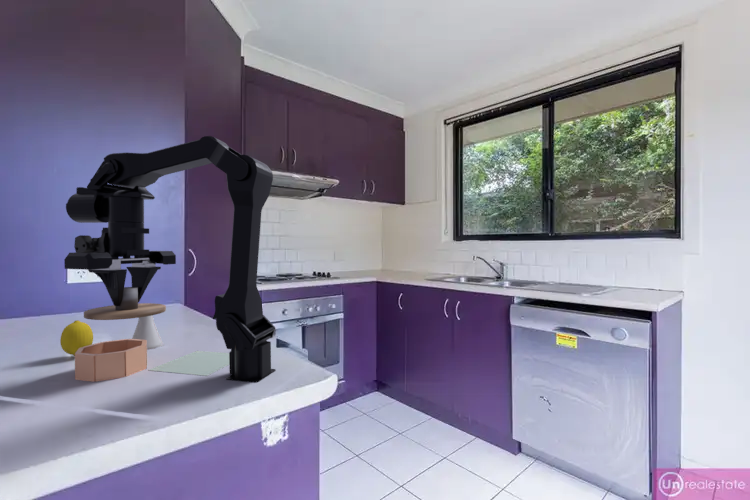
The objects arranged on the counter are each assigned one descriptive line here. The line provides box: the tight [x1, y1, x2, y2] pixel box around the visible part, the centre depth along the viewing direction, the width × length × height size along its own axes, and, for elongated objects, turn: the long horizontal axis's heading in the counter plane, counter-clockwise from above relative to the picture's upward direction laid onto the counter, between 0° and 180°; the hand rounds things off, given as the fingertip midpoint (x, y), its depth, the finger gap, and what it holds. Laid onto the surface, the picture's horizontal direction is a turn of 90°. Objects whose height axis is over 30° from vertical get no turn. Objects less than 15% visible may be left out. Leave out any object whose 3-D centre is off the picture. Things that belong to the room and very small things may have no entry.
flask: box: [131, 315, 165, 351], centre depth 86 cm, size 7×7×10 cm
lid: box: [83, 286, 167, 321], centre depth 71 cm, size 13×13×5 cm
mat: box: [148, 350, 229, 377], centre depth 74 cm, size 13×13×1 cm
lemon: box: [59, 320, 94, 357], centre depth 80 cm, size 6×6×8 cm
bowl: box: [74, 338, 148, 382], centre depth 70 cm, size 11×11×5 cm
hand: (126, 304), depth 71 cm, fingers closed on lid, 4 cm apart
